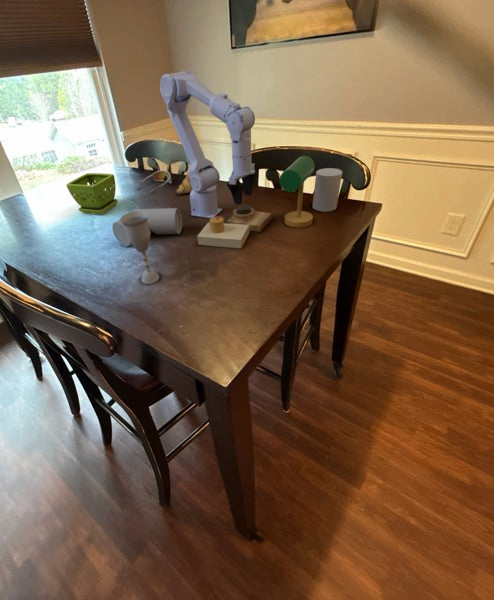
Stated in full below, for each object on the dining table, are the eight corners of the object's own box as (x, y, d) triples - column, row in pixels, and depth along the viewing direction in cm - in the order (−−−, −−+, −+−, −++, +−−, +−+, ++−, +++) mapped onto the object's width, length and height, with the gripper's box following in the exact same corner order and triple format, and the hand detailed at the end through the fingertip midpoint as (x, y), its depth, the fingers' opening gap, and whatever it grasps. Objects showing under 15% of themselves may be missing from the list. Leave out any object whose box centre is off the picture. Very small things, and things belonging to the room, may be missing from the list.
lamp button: (235, 214, 105) (234, 209, 104) (240, 209, 108) (240, 204, 107) (247, 215, 103) (246, 210, 102) (252, 210, 106) (252, 205, 105)
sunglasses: (178, 182, 147) (175, 172, 144) (155, 197, 141) (152, 187, 137) (158, 178, 155) (155, 168, 152) (136, 192, 149) (132, 182, 145)
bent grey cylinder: (154, 215, 117) (111, 238, 105) (153, 189, 109) (106, 210, 98) (190, 235, 110) (147, 261, 98) (191, 208, 102) (145, 234, 91)
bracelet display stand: (277, 228, 102) (279, 169, 90) (291, 211, 111) (295, 155, 99) (305, 232, 97) (312, 171, 86) (317, 214, 106) (324, 156, 95)
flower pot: (76, 215, 129) (64, 184, 121) (97, 202, 138) (87, 172, 130) (103, 217, 124) (93, 185, 116) (123, 203, 133) (114, 173, 126)
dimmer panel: (198, 244, 98) (197, 235, 96) (208, 230, 106) (208, 221, 104) (241, 248, 94) (240, 239, 92) (249, 233, 101) (249, 224, 99)
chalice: (139, 272, 89) (122, 213, 78) (162, 269, 89) (148, 209, 78) (136, 287, 83) (117, 225, 72) (162, 284, 83) (147, 221, 72)
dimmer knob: (221, 233, 96) (221, 222, 94) (208, 232, 98) (207, 221, 95) (226, 227, 99) (225, 215, 97) (213, 226, 101) (212, 215, 98)
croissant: (184, 204, 134) (188, 190, 128) (167, 191, 136) (170, 175, 130) (214, 187, 146) (219, 173, 139) (199, 175, 148) (203, 160, 141)
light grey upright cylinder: (337, 211, 107) (343, 175, 99) (313, 211, 109) (317, 176, 101) (335, 202, 113) (340, 167, 105) (311, 202, 115) (315, 168, 107)
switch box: (227, 226, 106) (226, 215, 104) (239, 215, 113) (239, 204, 110) (260, 232, 101) (260, 220, 98) (271, 219, 107) (271, 208, 105)
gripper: (243, 163, 87) (244, 209, 96) (263, 149, 97) (263, 192, 105) (221, 161, 91) (224, 206, 99) (242, 148, 100) (244, 190, 108)
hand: (243, 199), depth 102 cm, fingers open, 7 cm apart
